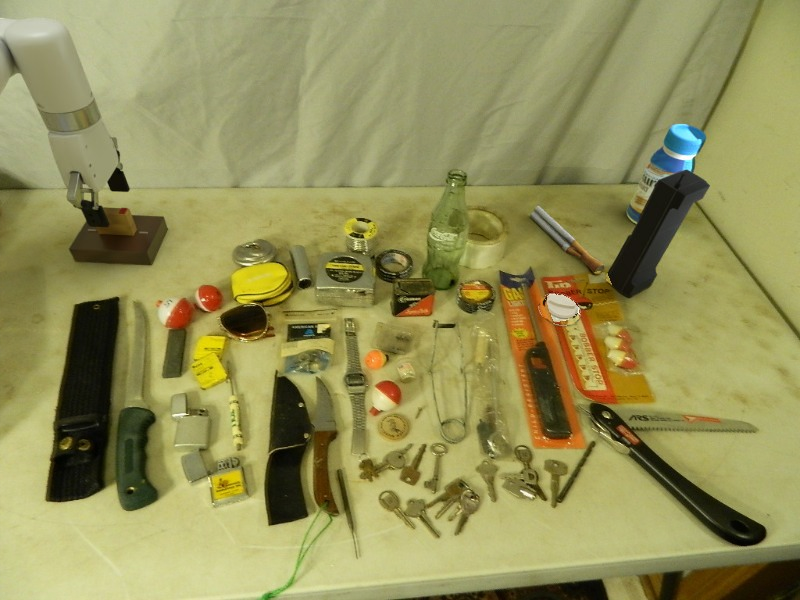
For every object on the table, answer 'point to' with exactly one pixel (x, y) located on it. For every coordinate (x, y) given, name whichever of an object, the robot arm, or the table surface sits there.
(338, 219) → the table surface
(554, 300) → the stove knob
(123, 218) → the light wood flat block
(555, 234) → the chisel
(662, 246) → the black long block
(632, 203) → the beverage bottle
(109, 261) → the dark brown flat block
